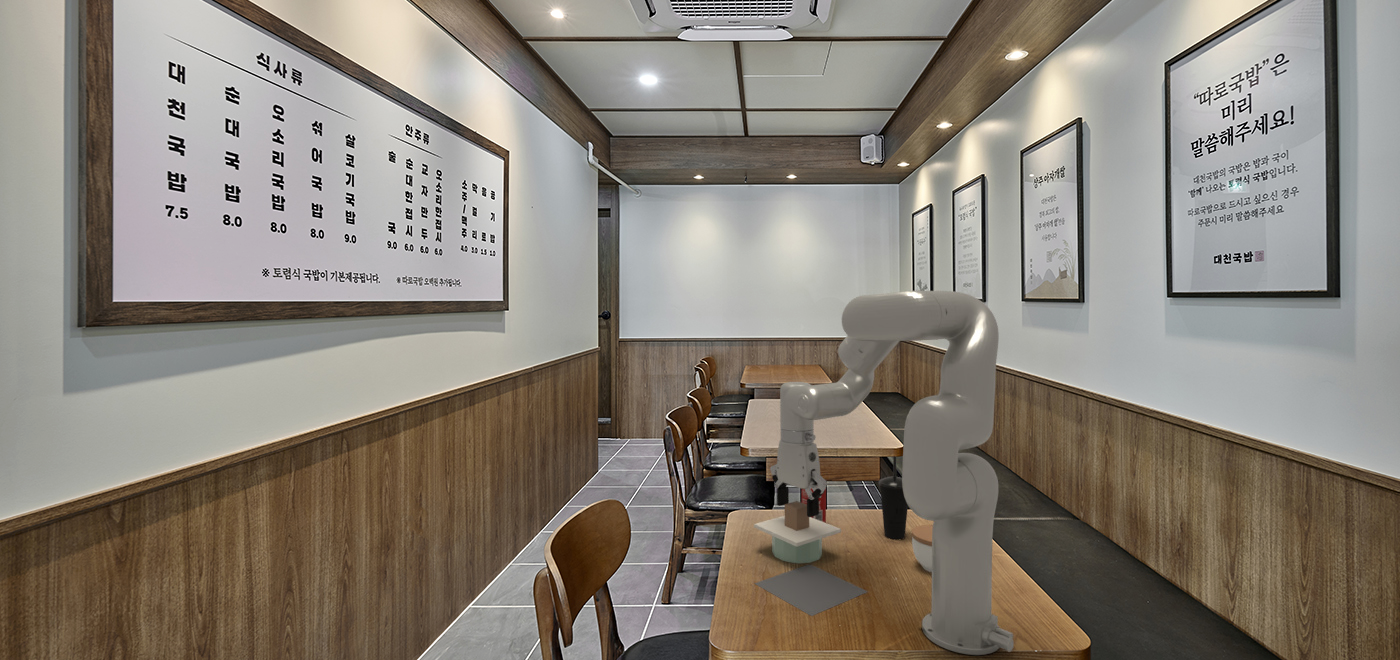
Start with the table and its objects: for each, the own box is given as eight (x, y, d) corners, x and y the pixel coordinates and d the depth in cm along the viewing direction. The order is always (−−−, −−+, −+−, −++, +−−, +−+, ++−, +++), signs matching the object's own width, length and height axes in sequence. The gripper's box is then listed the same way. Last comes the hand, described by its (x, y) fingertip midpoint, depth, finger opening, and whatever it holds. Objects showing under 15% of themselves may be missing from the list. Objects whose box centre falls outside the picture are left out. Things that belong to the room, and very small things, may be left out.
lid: (840, 532, 135) (840, 507, 134) (796, 546, 126) (796, 519, 126) (797, 515, 146) (797, 492, 146) (754, 527, 138) (753, 502, 138)
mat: (868, 594, 117) (868, 591, 117) (811, 619, 108) (811, 615, 108) (809, 566, 130) (809, 563, 130) (754, 586, 121) (754, 583, 121)
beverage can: (824, 521, 158) (824, 477, 158) (827, 530, 152) (827, 484, 151) (800, 521, 159) (800, 477, 158) (802, 529, 152) (802, 483, 152)
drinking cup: (872, 532, 150) (872, 454, 150) (898, 529, 153) (898, 452, 152) (890, 543, 143) (891, 461, 142) (917, 539, 145) (917, 459, 145)
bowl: (831, 557, 135) (831, 531, 135) (796, 569, 129) (796, 542, 129) (797, 542, 144) (797, 518, 144) (763, 553, 138) (763, 527, 138)
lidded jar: (975, 575, 126) (975, 532, 125) (932, 582, 123) (932, 537, 122) (941, 555, 136) (941, 515, 136) (901, 561, 133) (901, 520, 133)
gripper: (837, 440, 131) (837, 516, 131) (782, 428, 145) (783, 497, 145) (813, 444, 126) (813, 524, 127) (759, 432, 140) (760, 503, 141)
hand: (797, 510), depth 136 cm, fingers open, 9 cm apart
